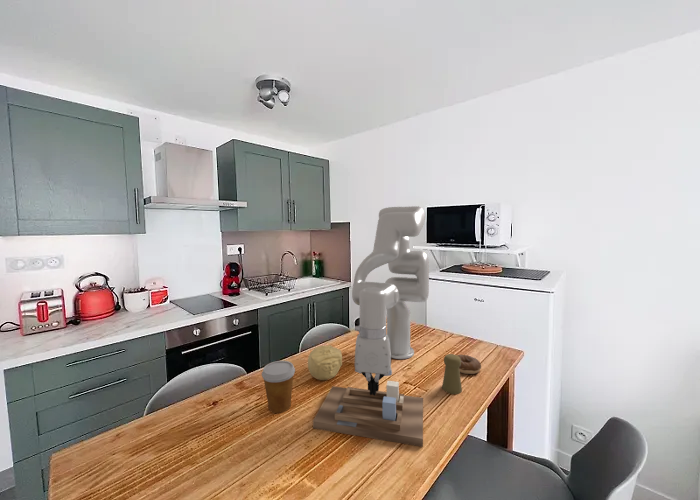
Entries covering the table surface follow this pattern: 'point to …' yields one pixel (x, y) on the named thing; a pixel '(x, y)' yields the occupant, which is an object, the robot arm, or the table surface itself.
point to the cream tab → (393, 390)
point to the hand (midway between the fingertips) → (373, 392)
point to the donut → (469, 364)
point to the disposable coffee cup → (278, 385)
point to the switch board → (371, 416)
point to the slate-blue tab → (389, 408)
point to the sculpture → (324, 362)
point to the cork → (452, 374)
